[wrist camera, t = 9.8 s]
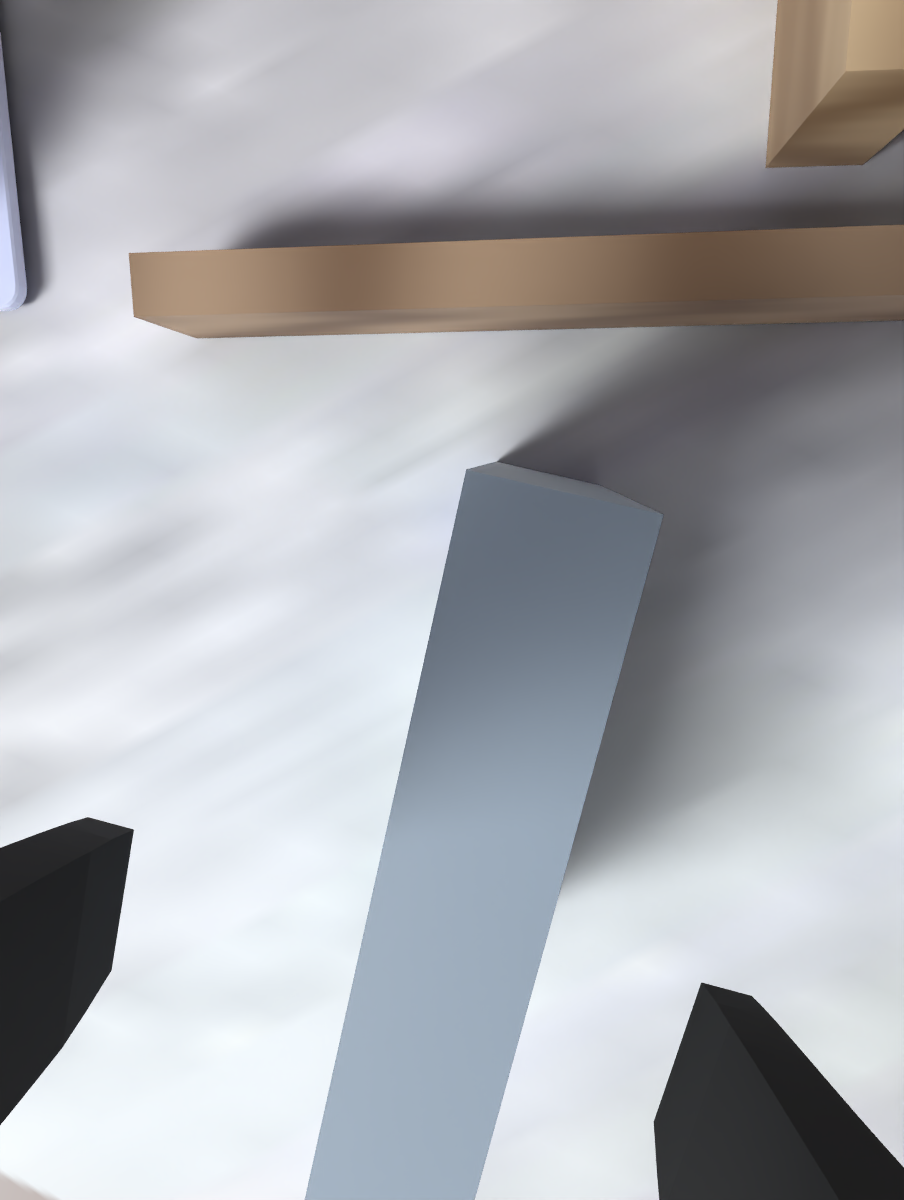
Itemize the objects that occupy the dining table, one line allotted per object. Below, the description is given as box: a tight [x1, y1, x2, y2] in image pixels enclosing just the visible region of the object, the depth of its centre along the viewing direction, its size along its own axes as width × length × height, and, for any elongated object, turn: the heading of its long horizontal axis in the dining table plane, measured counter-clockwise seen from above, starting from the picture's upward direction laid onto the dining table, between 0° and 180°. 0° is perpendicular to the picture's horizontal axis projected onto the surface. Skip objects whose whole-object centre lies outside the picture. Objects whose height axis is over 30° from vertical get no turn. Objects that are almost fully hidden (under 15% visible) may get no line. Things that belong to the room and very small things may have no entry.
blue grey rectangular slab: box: [305, 462, 664, 1200], centre depth 15 cm, size 2×12×9 cm, turn 167°
